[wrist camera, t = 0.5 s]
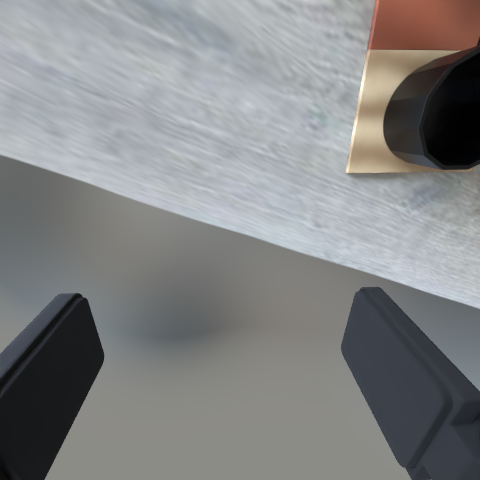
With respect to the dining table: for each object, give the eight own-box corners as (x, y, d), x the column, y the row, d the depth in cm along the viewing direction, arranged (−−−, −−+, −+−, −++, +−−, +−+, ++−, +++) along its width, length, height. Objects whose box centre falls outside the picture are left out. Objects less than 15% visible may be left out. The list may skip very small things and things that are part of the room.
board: (399, -134, 24) (404, -141, 23) (580, -124, 25) (591, -131, 24) (345, 172, 36) (347, 173, 36) (467, 170, 37) (472, 171, 36)
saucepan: (424, -71, 25) (491, -136, 19) (534, -67, 26) (634, -128, 20) (373, 162, 35) (406, 170, 29) (453, 161, 36) (503, 169, 29)
